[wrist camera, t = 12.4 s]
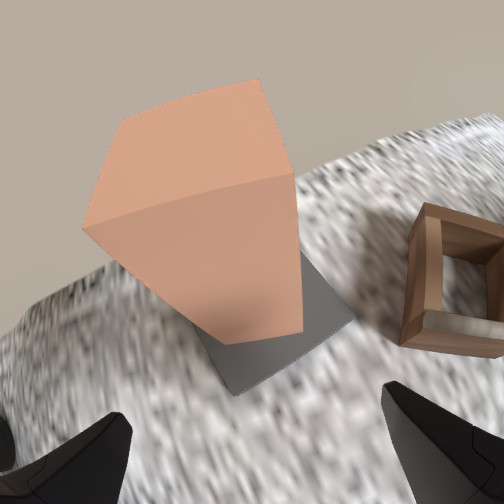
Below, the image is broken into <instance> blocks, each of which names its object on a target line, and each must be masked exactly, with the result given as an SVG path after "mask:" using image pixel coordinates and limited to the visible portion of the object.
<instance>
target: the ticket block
mask: <svg viewBox="0 0 504 504" xmlns="http://www.w3.org/2000/svg"><path fill="white" fill-rule="evenodd" d="M82 230H83V231H84V232H85V233H87V234H88V235H89V236H90V237H91V238H92V239H93V240H94V241H95V242H96V243H97V244H98V245H99V246H100V247H101V248H103V249H104V250H105V251H106V252H107V253H108V254H109V255H110V256H111V257H113V258H114V259H115V260H116V261H117V262H118V263H119V264H120V265H122V266H123V267H124V268H125V269H126V270H127V271H128V272H130V273H131V274H132V275H133V276H134V277H136V278H137V279H138V280H139V281H140V282H142V283H143V284H144V285H145V286H146V287H148V288H149V289H150V290H151V291H153V292H154V293H155V294H156V295H158V296H159V297H160V298H161V299H163V300H164V301H165V302H166V303H168V304H169V305H170V306H172V307H173V308H174V309H175V310H177V311H178V312H179V313H181V314H182V315H183V316H185V317H186V318H187V319H189V320H190V321H191V322H193V323H194V324H196V325H197V326H198V327H200V328H201V329H202V330H204V331H205V332H207V333H208V334H210V335H211V336H212V337H214V338H215V339H217V340H218V341H220V342H221V343H222V344H224V345H229V344H236V343H243V342H250V341H256V340H262V339H268V338H274V337H280V336H285V335H291V334H296V333H301V332H303V304H302V279H301V259H300V242H299V227H298V213H297V201H296V189H295V178H294V171H293V169H292V166H291V163H290V160H289V157H288V154H287V151H286V149H285V146H284V143H283V141H282V138H281V135H280V132H279V130H278V127H277V124H276V122H275V119H274V117H273V114H272V111H271V109H270V106H269V104H268V101H267V99H266V96H265V94H264V91H263V89H262V86H261V84H260V82H259V79H254V80H249V81H244V82H240V83H235V84H231V85H226V86H223V87H218V88H214V89H211V90H207V91H203V92H200V93H196V94H193V95H190V96H186V97H183V98H180V99H177V100H174V101H171V102H168V103H165V104H162V105H159V106H157V107H154V108H151V109H149V110H146V111H144V112H141V113H138V114H136V115H133V116H131V117H129V118H126V119H124V120H123V121H122V123H121V125H120V127H119V129H118V131H117V133H116V136H115V138H114V140H113V142H112V145H111V147H110V149H109V152H108V154H107V157H106V159H105V161H104V164H103V166H102V169H101V172H100V174H99V177H98V180H97V183H96V185H95V188H94V191H93V194H92V197H91V200H90V203H89V206H88V209H87V213H86V216H85V219H84V223H83V227H82Z"/></svg>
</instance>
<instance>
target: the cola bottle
mask: <svg viewBox="0 0 504 504" xmlns="http://www.w3.org/2000/svg"><path fill="white" fill-rule="evenodd" d="M14 462H15V448H14V443H13V439H12V436H11V433H10V430H9V428H8V426H7V424H6V423H5V421H4V420H3V418H2V417H1V416H0V472H4V471H7V470H9V469H11V468H12V467H13V465H14Z"/></svg>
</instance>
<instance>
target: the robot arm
mask: <svg viewBox="0 0 504 504" xmlns="http://www.w3.org/2000/svg"><path fill="white" fill-rule="evenodd" d="M381 406H382V410H383V413H384V416H385V419H386V423H387V426H388V430H389V433H390V437H391V440H392V443H393V446H394V449H395V451H396V453H397V456H398V458H399V460H400V463H401V465H402V467H403V470H404V472H405V475H406V477H407V480H408V482H409V485H410V487H411V490H412V492H413V495H414V497H415V500H416V503H417V504H504V439H502V438H500V437H497V436H494V435H492V434H490V433H488V432H486V431H484V430H482V429H480V428H478V427H476V426H473V425H472V424H471V423H469V422H467V421H465V420H463V419H461V418H460V417H458V416H456V415H454V414H452V413H451V412H449V411H447V410H445V409H444V408H442V407H440V406H438V405H437V404H435V403H433V402H431V401H430V400H428V399H426V398H424V397H423V396H421V395H419V394H417V393H416V392H414V391H412V390H411V389H409V388H407V387H406V386H404V385H402V384H401V383H399V382H397V381H391V382H388V383H385V384H384V385H383V387H382V396H381ZM132 433H133V430H132V426H131V425H130V424H129V422H128V421H127V419H126V418H125V416H124V415H123V414H122V413H120V412H111V413H109V414H108V415H106V416H105V417H103V418H102V419H101V420H99V421H98V422H96V423H95V424H93V425H92V426H90V427H89V428H87V429H86V430H84V431H83V432H81V433H80V434H78V435H77V436H75V437H74V438H72V439H70V440H69V441H67V442H66V443H64V444H63V445H61V446H59V447H58V448H56V449H55V450H53V451H52V452H50V453H48V454H47V455H45V456H43V457H42V458H40V459H38V460H37V461H35V462H33V463H31V464H29V465H27V466H25V467H23V468H21V469H18V470H16V471H14V472H12V473H9V474H7V475H4V476H0V504H117V503H118V498H119V494H120V490H121V486H122V482H123V479H124V475H125V471H126V467H127V463H128V457H129V451H130V445H131V439H132Z"/></svg>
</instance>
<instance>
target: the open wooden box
mask: <svg viewBox="0 0 504 504" xmlns="http://www.w3.org/2000/svg"><path fill="white" fill-rule="evenodd" d="M443 255H447V256H451V257H455V258H459V259H463V260H467V261H471V262H475V263H479V264H483V265H485V270H486V285H487V320H486V319H480V318H474V317H468V316H463V315H457V314H452V313H446V312H442V294H443ZM399 346H401V347H407V348H413V349H419V350H426V351H432V352H440V353H447V354H455V355H463V356H472V357H481V358H492V359H496V358H498V357H501V356H504V226H503V225H500V224H497V223H494V222H491V221H488V220H485V219H482V218H479V217H476V216H472V215H469V214H466V213H462V212H459V211H455V210H452V209H448V208H445V207H441V206H437V205H433V204H430V203H426V202H424V204H423V206H422V208H421V210H420V212H419V215H418V217H417V219H416V221H415V223H414V225H413V227H412V229H411V231H410V233H409V256H408V275H407V288H406V298H405V307H404V315H403V323H402V329H401V336H400V342H399Z"/></svg>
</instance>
